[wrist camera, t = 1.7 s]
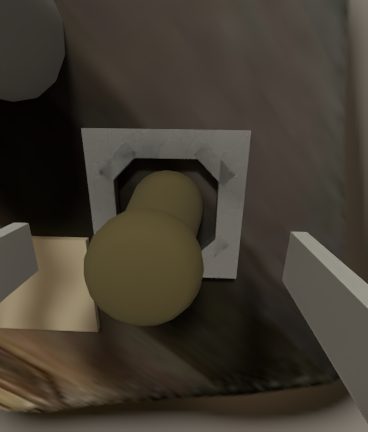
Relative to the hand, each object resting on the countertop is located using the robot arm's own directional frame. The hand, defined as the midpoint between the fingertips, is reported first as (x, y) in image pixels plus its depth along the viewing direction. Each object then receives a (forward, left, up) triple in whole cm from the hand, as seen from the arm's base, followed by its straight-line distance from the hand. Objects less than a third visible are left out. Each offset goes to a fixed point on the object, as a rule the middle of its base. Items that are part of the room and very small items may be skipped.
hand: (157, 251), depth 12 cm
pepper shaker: (0, 0, -8) cm, 8 cm away
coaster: (-12, -8, -8) cm, 17 cm away
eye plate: (0, 0, -8) cm, 8 cm away
